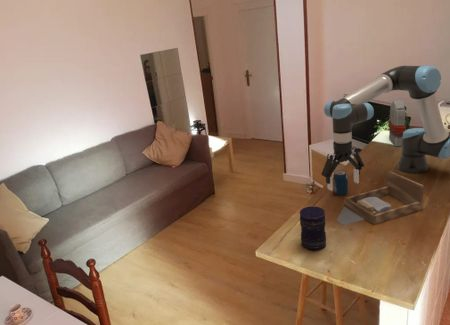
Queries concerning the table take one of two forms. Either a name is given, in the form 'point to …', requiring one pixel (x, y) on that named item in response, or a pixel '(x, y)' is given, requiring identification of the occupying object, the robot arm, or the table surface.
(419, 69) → the robot arm
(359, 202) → the offcut short
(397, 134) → the grey red bottle
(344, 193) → the soda can
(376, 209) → the stone block
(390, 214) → the wooden tray
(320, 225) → the storage jar
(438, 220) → the table surface
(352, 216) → the mat
